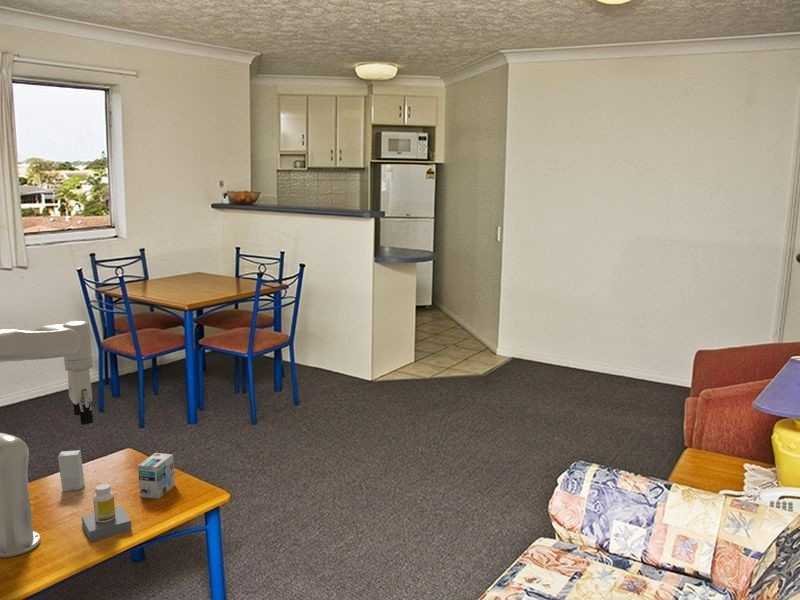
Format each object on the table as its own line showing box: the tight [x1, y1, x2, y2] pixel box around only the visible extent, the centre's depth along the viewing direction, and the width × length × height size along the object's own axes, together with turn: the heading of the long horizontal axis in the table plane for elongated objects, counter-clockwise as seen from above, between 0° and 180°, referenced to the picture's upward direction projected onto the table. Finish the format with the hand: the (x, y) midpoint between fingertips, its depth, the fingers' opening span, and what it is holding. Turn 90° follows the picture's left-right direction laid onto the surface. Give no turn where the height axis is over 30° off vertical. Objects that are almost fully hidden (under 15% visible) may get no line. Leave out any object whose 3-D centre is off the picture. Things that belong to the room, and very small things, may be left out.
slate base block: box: [81, 505, 133, 543], centre depth 203 cm, size 11×11×3 cm
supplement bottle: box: [92, 483, 116, 523], centre depth 202 cm, size 5×5×10 cm
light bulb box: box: [137, 452, 176, 500], centre depth 226 cm, size 11×7×11 cm, turn 168°
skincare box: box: [57, 449, 85, 492], centre depth 228 cm, size 6×4×12 cm
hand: (83, 419), depth 211 cm, fingers open, 9 cm apart
